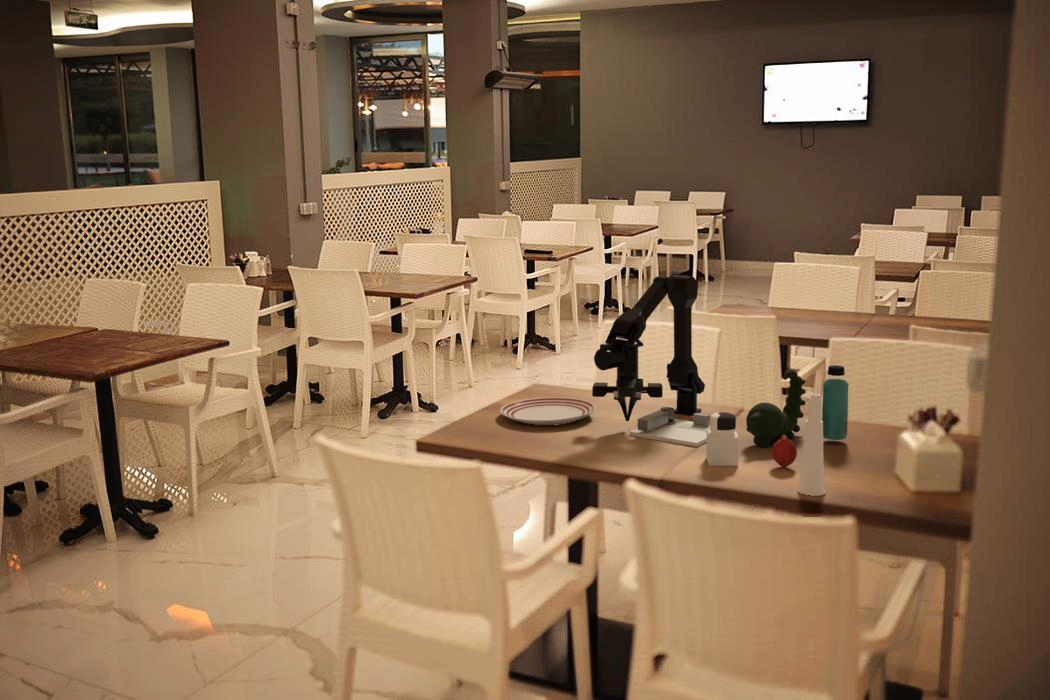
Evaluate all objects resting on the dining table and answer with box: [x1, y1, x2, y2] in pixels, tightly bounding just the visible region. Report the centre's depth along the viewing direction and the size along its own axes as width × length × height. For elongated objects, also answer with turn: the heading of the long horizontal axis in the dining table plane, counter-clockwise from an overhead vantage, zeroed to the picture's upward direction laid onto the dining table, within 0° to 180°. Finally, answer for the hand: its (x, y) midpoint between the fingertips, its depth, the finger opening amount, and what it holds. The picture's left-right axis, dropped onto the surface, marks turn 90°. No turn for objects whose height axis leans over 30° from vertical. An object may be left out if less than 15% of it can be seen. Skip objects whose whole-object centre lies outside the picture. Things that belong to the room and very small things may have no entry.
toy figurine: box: [745, 368, 807, 448], centre depth 260 cm, size 9×19×25 cm
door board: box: [629, 412, 711, 448], centre depth 271 cm, size 18×20×4 cm
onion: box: [770, 435, 798, 469], centre depth 239 cm, size 6×6×8 cm
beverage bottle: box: [821, 365, 850, 441], centre depth 258 cm, size 6×7×20 cm
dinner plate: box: [499, 396, 597, 426], centre depth 289 cm, size 27×27×3 cm
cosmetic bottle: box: [796, 393, 827, 497], centre depth 221 cm, size 6×6×22 cm
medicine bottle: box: [705, 411, 740, 467], centre depth 244 cm, size 7×7×12 cm
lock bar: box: [637, 406, 675, 432], centre depth 273 cm, size 15×4×3 cm, turn 143°
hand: (627, 420), depth 274 cm, fingers closed
